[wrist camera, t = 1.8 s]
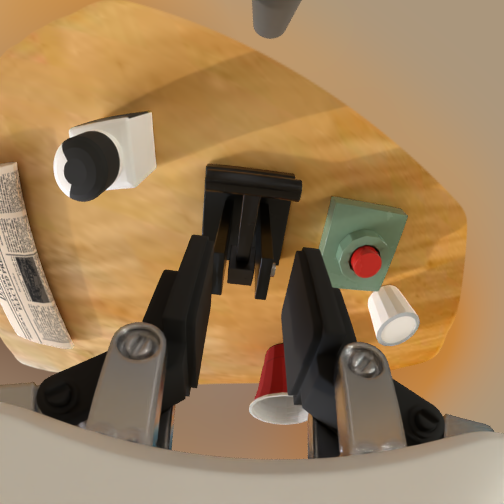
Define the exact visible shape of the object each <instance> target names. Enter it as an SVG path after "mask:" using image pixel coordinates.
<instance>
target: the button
mask: <svg viewBox="0 0 504 504" xmlns="http://www.w3.org/2000/svg"><path fill="white" fill-rule="evenodd" d="M351 265H352V267H353V269H354V272H355V273H356V275H357V276H359V277H361V278H369V277H372V276H374V275H375V274H376V273H377V272H378V271H379V270H380V268H381V265H382V260H381V258H380V256H379V254H378V253H377V251H376V250H375V249H374V248H373V247H371V246H362V247H360V248H358V249H356V250H355V251H354V253H353V254H352V256H351Z"/></svg>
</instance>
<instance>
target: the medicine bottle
mask: <svg viewBox="0 0 504 504" xmlns="http://www.w3.org/2000/svg"><path fill="white" fill-rule="evenodd" d="M69 135H70V138H69V139H67V140H65V141H64V142H63V143H62V144H61V145H60V146H59V148H58V150H57V152H56V154H55V158H54V176H55V179H56V182H57V184H58V186H59V187H60V189H61V190H62V191H63V192H64V193H65V194H66V195H67V196H69V197H70V198H72V199H74V200H77V201H82V202H85V201H90V200H93V199H95V198H96V197H98V196H99V195H100V194H101V193H102V192H104V191H105V190H112V189H125V188H135V187H137V186H138V185H139V184H140V183H141V182H142V181H143V180H144V179H145V178H146V177H147V176H148V175H150V174H151V173H152V172H153V171H154V170H155V169H156V156H155V146H154V135H153V122H152V112H151V111H144V112H137V113H130V114H123V115H117V116H112V117H106V118H101V119H97V120H94V121H91V122H88V123H84V124H81V125H78V126H75V127H72V128H71V129H70V130H69Z"/></svg>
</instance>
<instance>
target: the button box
mask: <svg viewBox="0 0 504 504" xmlns="http://www.w3.org/2000/svg"><path fill="white" fill-rule="evenodd" d="M407 217H408V215H407V214H406V213H405V212H404V211H403V210H402V209H399V208H394V207H389V206H384V205H379V204H374V203H369V202H363V201H358V200H352V199H346V198H340V197H334V196H332V198H331V202H330V206H329V210H328V214H327V218H326V222H325V226H324V230H323V234H322V238H321V242H320V245H319V249H320V251H321V254H322V257H323V260H324V263H325V266H326V269H327V272H328V275H329V278H330V281H331V284H332V287H333V288H340V289H353V290H365V291H379V290H380V287H381V285H382V283H383V280H384V278H385V276H386V273H387V271H388V268H389V266H390V263H391V261H392V258H393V256H394V253H395V251H396V248H397V245H398V243H399V240H400V237H401V235H402V232H403V229H404V226H405V223H406V220H407ZM362 246H371V247H373V248H374V249H375V250H376V251H377V253H378V254H379V256H380V258H381V260H382V265H381V268H380V270H379V271H378V272H377V273H376V274H375V275H374V276H372V277H369V278H361V277H359V276H357V275H356V273H355V272H354V269H353V267H352V265H351V256H352V254H353V253H354V251H355V250H356V249H358V248H360V247H362Z"/></svg>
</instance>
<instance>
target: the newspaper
mask: <svg viewBox="0 0 504 504" xmlns="http://www.w3.org/2000/svg"><path fill="white" fill-rule="evenodd" d="M0 303H1V306H2V308H3V310H4V312H5V314H6V316H7V317H8V319H9V321H10V323H11V325H12V327H13V329H14V331H15V332H16V333H17V335H18V336H20V337H22V338H25V339H28V340H30V341H33V342H36V343H40V344H44V345H48V346H53V347H58V348H62V349H72V348H73V347H74V344H73V342H72V340H71V338H70V336H69V333H68V331H67V329H66V327H65V325H64V322H63V320H62V318H61V316H60V313H59V311H58V308H57V306H56V304H55V301H54V299H53V296H52V293H51V291H50V288H49V285H48V283H47V280H46V277H45V274H44V271H43V269H42V266H41V263H40V259H39V256H38V253H37V250H36V247H35V243H34V240H33V236H32V233H31V229H30V225H29V221H28V217H27V213H26V209H25V204H24V200H23V195H22V190H21V185H20V180H19V174H18V168H17V162H9V163H2V164H0Z"/></svg>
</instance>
